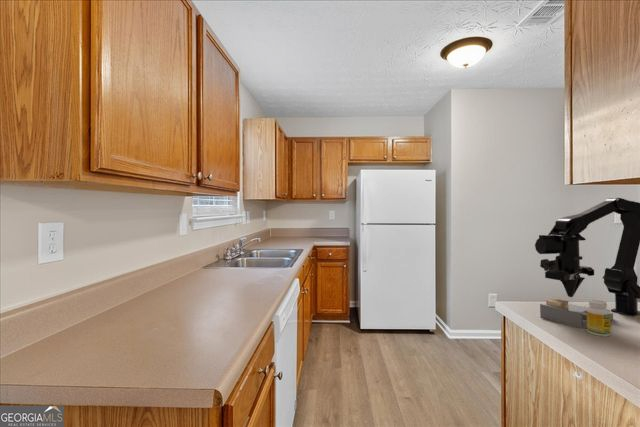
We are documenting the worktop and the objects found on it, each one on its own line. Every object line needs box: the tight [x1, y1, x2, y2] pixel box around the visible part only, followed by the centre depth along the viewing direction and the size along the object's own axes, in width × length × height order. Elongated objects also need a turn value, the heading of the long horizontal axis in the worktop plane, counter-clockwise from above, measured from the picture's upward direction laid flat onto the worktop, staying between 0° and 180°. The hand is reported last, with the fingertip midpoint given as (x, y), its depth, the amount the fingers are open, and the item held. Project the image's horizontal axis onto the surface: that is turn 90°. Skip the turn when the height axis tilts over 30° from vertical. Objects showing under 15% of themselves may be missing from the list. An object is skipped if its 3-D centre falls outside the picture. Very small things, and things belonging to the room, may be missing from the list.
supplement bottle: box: [586, 299, 612, 337], centre depth 95 cm, size 5×5×10 cm
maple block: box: [545, 297, 569, 310], centre depth 109 cm, size 4×4×4 cm
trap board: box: [539, 303, 614, 329], centre depth 108 cm, size 18×12×4 cm
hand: (570, 296), depth 112 cm, fingers closed
